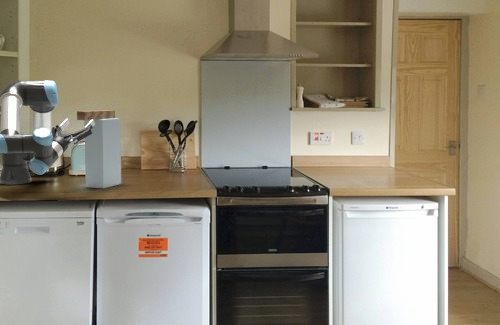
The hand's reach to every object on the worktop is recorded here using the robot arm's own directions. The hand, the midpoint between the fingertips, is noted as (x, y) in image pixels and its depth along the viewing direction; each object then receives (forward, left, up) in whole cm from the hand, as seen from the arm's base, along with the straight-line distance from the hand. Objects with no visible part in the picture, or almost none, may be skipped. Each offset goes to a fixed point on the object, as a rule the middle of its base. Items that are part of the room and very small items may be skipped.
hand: (80, 121), depth 267 cm
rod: (-6, +12, +1) cm, 14 cm away
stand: (-8, +17, -32) cm, 38 cm away
